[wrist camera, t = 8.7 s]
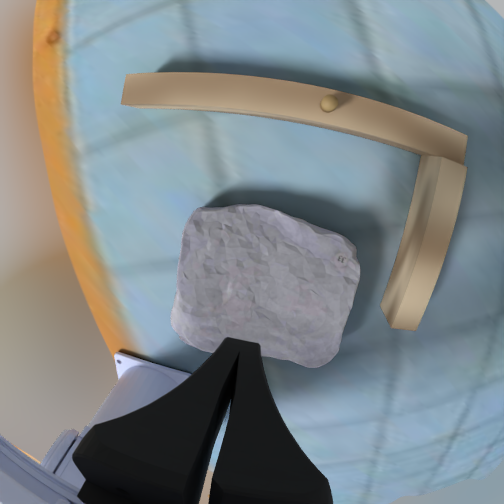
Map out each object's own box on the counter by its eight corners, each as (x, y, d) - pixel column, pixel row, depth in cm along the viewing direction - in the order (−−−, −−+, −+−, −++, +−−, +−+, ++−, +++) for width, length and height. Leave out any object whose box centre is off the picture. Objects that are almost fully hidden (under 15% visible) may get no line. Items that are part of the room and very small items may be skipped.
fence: (402, 309, 19) (419, 336, 16) (128, 257, 21) (102, 276, 17) (448, 136, 15) (478, 135, 12) (144, 81, 16) (116, 70, 13)
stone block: (194, 196, 21) (181, 325, 22) (174, 193, 16) (161, 352, 17) (356, 221, 20) (329, 347, 22) (380, 225, 16) (342, 379, 17)
